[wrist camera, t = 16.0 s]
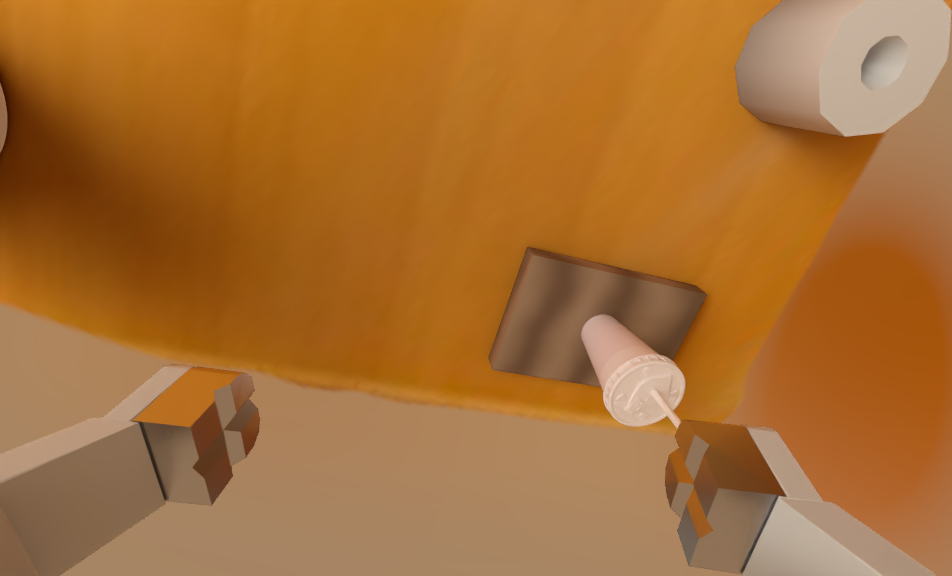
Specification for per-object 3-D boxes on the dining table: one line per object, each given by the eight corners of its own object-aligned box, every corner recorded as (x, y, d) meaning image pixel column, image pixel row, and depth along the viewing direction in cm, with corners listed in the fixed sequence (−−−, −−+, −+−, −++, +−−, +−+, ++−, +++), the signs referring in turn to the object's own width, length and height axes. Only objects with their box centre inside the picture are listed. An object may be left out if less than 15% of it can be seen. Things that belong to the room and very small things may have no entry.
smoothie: (644, 327, 46) (737, 427, 34) (595, 370, 48) (666, 482, 35) (604, 288, 44) (688, 381, 31) (553, 336, 45) (614, 443, 33)
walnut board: (488, 357, 47) (492, 369, 46) (527, 246, 43) (533, 255, 41) (645, 383, 52) (654, 395, 50) (695, 285, 47) (707, 294, 46)
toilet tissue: (866, 111, 42) (971, 123, 35) (725, 125, 41) (802, 141, 33) (899, -10, 38) (1026, -26, 30) (744, 2, 37) (836, -12, 29)
